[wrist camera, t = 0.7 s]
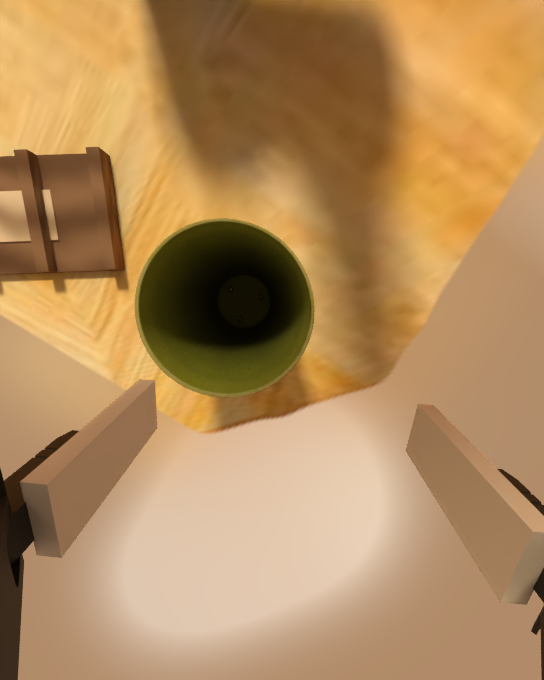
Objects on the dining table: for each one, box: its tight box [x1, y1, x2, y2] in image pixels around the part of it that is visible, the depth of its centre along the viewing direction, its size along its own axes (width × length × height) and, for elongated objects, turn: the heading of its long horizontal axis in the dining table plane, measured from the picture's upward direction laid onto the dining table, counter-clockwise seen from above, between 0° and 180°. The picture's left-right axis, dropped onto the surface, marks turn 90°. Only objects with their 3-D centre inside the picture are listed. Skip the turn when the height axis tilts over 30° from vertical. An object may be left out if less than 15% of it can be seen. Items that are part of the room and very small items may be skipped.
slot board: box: [0, 147, 124, 274], centre depth 35 cm, size 14×20×2 cm
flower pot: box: [135, 218, 314, 398], centre depth 31 cm, size 15×15×16 cm
